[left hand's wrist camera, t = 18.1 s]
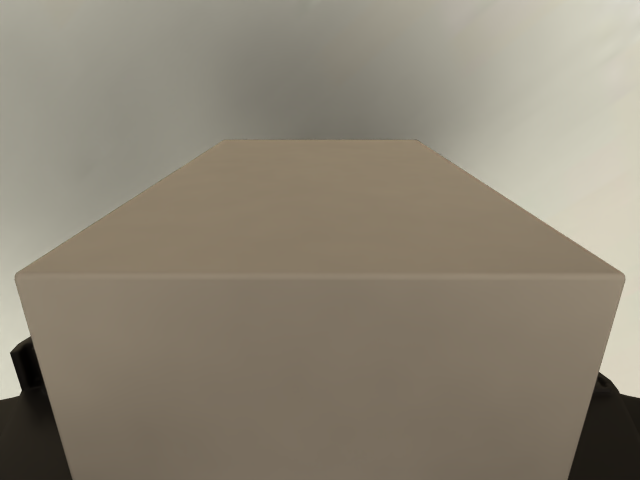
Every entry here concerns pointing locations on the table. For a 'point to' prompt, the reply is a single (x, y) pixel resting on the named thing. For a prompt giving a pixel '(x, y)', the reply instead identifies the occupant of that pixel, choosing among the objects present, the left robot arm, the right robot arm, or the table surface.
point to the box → (319, 323)
